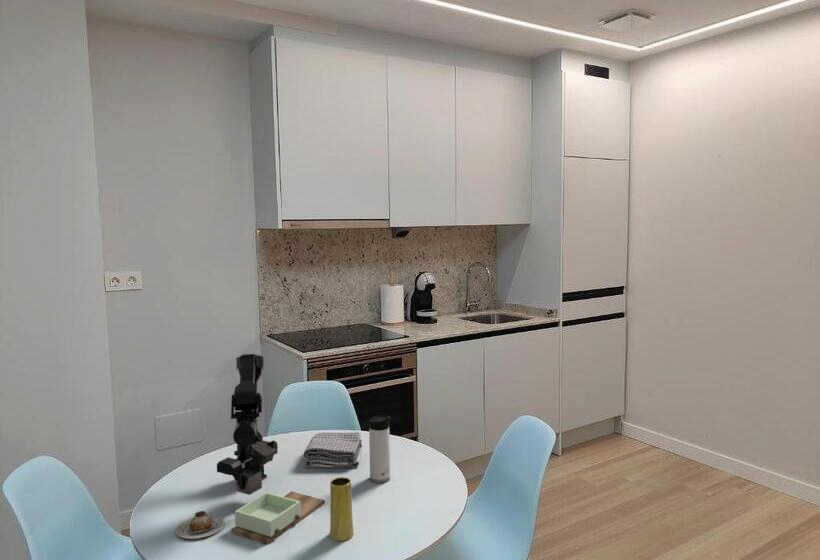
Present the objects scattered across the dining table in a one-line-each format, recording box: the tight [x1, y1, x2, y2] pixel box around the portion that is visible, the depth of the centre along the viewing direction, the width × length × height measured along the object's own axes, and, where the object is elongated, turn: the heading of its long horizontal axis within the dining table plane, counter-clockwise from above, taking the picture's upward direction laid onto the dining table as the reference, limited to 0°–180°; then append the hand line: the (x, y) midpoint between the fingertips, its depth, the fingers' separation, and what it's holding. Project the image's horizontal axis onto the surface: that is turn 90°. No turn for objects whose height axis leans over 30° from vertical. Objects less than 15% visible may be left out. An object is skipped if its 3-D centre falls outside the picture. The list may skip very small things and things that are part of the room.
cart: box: [234, 492, 301, 537], centre depth 153 cm, size 14×12×4 cm
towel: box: [302, 431, 363, 469], centre depth 196 cm, size 15×18×8 cm
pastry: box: [175, 510, 225, 541], centre depth 152 cm, size 12×12×5 cm
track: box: [231, 491, 326, 545], centre depth 157 cm, size 12×24×1 cm, turn 152°
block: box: [235, 468, 263, 496], centre depth 166 cm, size 5×5×5 cm
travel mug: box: [368, 414, 391, 484], centre depth 180 cm, size 6×7×20 cm
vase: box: [329, 476, 355, 542], centre depth 147 cm, size 6×6×14 cm
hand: (249, 485), depth 166 cm, fingers closed on block, 5 cm apart
